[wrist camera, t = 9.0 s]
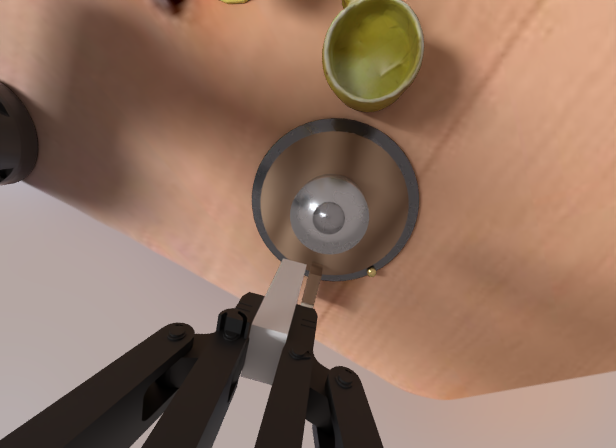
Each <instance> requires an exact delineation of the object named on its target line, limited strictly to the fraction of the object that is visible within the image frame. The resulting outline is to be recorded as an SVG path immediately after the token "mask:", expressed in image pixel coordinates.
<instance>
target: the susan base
mask: <svg viewBox="0 0 616 448" xmlns="http://www.w3.org/2000/svg"><path fill="white" fill-rule="evenodd" d="M329 131H340V132H348V133H353V134H356V135H359V136H362V137H365V138H367V139H369V140H371V141H373V142H374V143H376V144H377V145H379V146H380V147H381V148H383V149H384V150H385V151H386V152H387V153H388V154H389V155H390V156H391V157H392V159H393V160H394V161H395V162H396V164H397V165H398V167H399V169H400V170H401V173H402V175H403V177H404V179H405V183H406V186H407V191H408V198H409V209H408V216H407V220H406V224H405V227H404V230H403V232H402V234H401V236H400V238H399V240H398V241H397V243H396V244H395V246H394V247H393V248H392V249H391V251H390V252H389V253H388V254H387V255H386V256H384V257H383V258H382V259H381V260H379V261H378V262H377V263H375V264H373V265H372V266H370V267H368V268H366V269H363V270H361V271H358V272H355V273H351V274H345V275H324V274H322V277H321V280H325V281H346V280H352V279H356V278H360V277H363V276H366V275H368V276H369V277H374V276H375V275H376V271H377V270H378V269H380V268H382V267H383V266H385V265H386V264H387V263H389V262H390V261H391V260H392V259H393V258H394V257H395V256H396V255H397V254H398V253H399V252H400V251H401V250H402V248H403V247H404V246H405V244H406V242H407V241H408V239H409V238H410V236H411V233H412V231H413V229H414V226H415V223H416V219H417V215H418V209H419V192H418V184H417V180H416V177H415V173H414V171H413V169H412V166H411V164H410V162H409V160H408V159H407V157H406V156H405V154H404V152H403V151H402V150H401V149H400V148H399V146H398V145H397V144H396V143H395V142H394V141H393V140H391V139H390V138H389V137H388V136H387V135H385V134H384V133H382V132H381V131H379V130H378V129H376V128H374V127H372V126H369V125H367V124H364V123H361V122H358V121H354V120H348V119H336V118H331V119H322V120H317V121H313V122H309V123H307V124H304V125H302V126H299V127H297V128H295V129H294V130H292V131H290V132H288V133H287V134H286V135H284V136H283V137H282V138H281V139H279V140H278V141H277V142H276V143H275V144H274V145H273V146H272V147H271V149H270V150H269V151H268V153H267V154H266V155H265V157H264V159H263V160H262V162H261V164H260V166H259V168H258V171H257V173H256V176H255V180H254V184H253V191H252V209H253V216H254V220H255V223H256V227H257V229H258V231H259V234H260V236H261V238H262V239H263V241H264V243H265V244H266V246H267V247H268V248H269V250H270V251H271V252H272V253H273V254H274V255H275V256H276V257H277V258H278V259H279V260H280V261H281V262H282V260H283V258H284V259H287V258H286V257H285V256H284V255H283V254H282V253H281V252H280V251H279V250H278V249H277V248H276V246H275V245H274V244H273V242H272V241H271V239H270V237H269V236H268V234H267V231H266V229H265V227H264V223H263V220H262V214H261V191H262V187H263V183H264V180H265V177H266V175H267V172H268V171H269V169H270V167H271V165H272V164H273V163H274V161H275V160H276V159H277V157H278V156H279V155H280V154H281V153H282V152H283V151H284V150H285V149H286V148H288V147H289V146H290V145H292V144H293V143H295V142H297V141H298V140H300V139H302V138H304V137H307V136H310V135H312V134H317V133H321V132H329ZM288 260H289V259H288ZM304 275H305V276H308V275H309V271H308V270H305V273H304Z"/></svg>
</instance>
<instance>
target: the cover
mask: <svg viewBox="0 0 616 448" xmlns="http://www.w3.org/2000/svg"><path fill="white" fill-rule="evenodd" d="M290 222H291V226H292V229H293V231H294V233H295V235H296V237H297V238H298V239H299V241H300V242H301V243H302V244H303V245H305V246H306V247H307V248H309V249H311V250H313V251H315V252H318V253H321V254H339V253H342V252H345V251H347V250H349V249H351V248H353V247H354V246H355V245H356V244H357V243H358V242H359V241H360V240H361V239H362V238H363V236H364V234H365V232H366V230H367V227H368V223H369V209H368V206H367V202H366V200H365V197H364V195H363V193H362V191H361V189H360V188H359V187H358V186H357V184H355V183H354V182H353V181H352V180H350V179H349V178H347V177H345V176H342V175H338V174H324V175H320V176H317V177H315V178H313V179H312V180H310V181H309V182H308V183H307V184H305V186H304V187H303V188H302V189H301V190H300V191H299V192H298V193H297V195H296V196H295V198H294V200H293V202H292V205H291V210H290Z"/></svg>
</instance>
